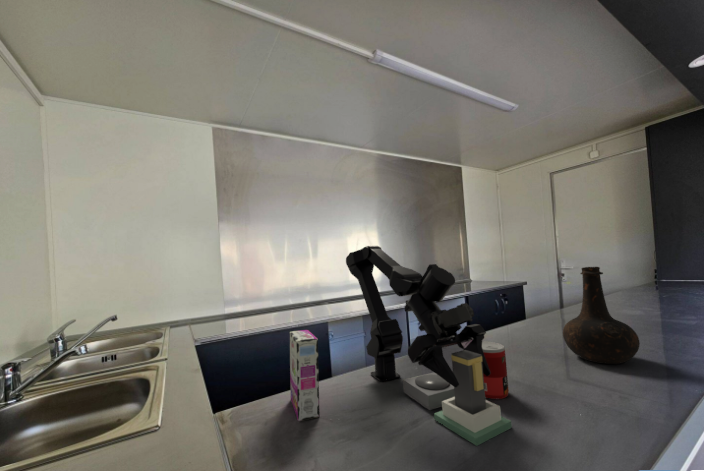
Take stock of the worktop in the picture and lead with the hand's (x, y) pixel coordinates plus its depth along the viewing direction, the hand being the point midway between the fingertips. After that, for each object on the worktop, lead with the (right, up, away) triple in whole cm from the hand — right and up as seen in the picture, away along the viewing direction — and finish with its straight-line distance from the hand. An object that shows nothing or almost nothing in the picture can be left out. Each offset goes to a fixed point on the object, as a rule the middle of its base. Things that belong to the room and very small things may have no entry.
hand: (473, 380), depth 56 cm
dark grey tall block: (0, -7, 0) cm, 7 cm away
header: (0, -9, 0) cm, 9 cm away
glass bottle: (+52, -10, +31) cm, 61 cm away
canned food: (+10, -10, +13) cm, 19 cm away
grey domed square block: (-4, -10, +13) cm, 17 cm away
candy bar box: (-35, -11, +10) cm, 38 cm away
